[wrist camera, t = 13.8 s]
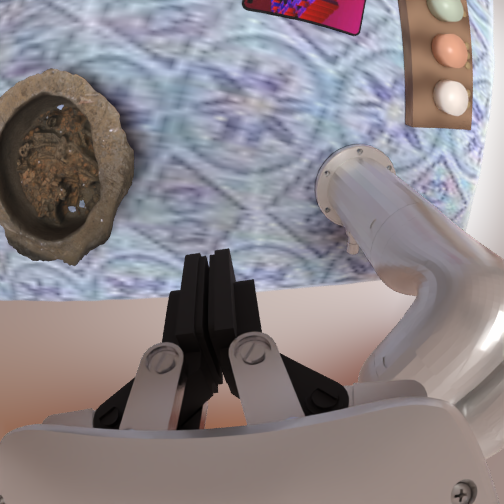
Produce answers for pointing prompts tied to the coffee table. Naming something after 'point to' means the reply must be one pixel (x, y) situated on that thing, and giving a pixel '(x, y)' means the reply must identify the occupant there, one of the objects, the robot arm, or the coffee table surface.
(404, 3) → the button board
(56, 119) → the stone bowl
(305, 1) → the smartphone
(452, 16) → the sage button
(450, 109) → the off-white button
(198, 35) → the coffee table surface
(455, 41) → the terracotta button
